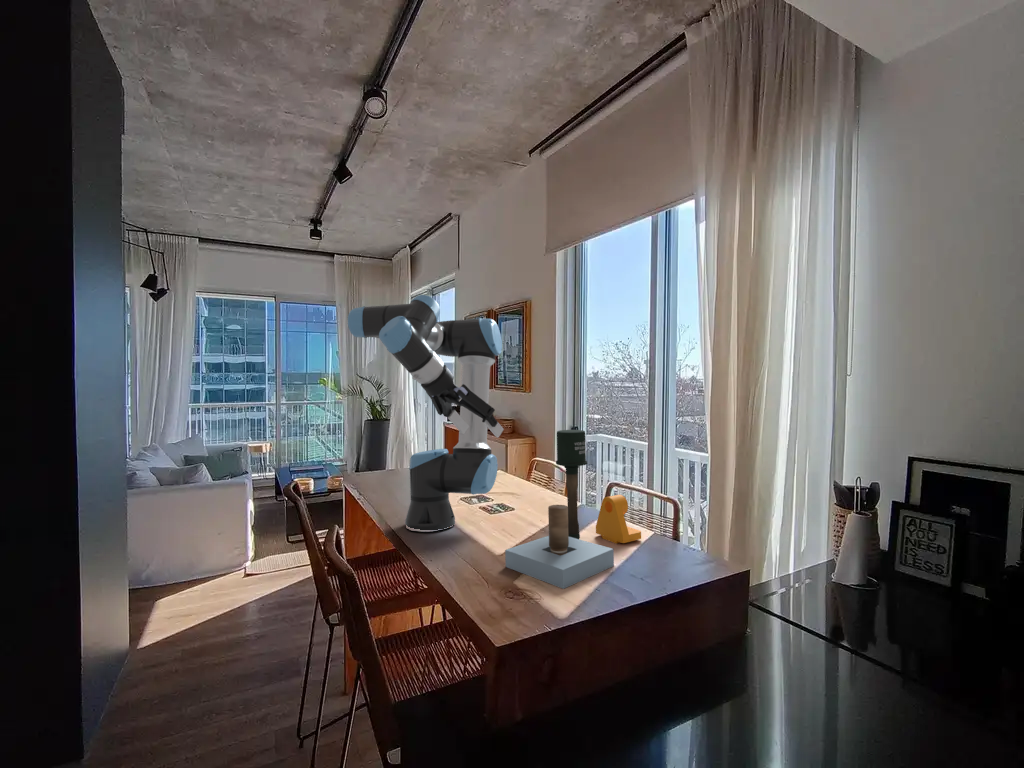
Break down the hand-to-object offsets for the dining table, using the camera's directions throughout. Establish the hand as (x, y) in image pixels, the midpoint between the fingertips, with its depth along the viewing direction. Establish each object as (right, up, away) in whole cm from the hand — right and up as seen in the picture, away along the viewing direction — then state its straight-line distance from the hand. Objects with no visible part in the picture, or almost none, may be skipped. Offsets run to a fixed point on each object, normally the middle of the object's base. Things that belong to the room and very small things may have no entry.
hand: (482, 431), depth 127 cm
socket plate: (+19, -31, -11) cm, 38 cm away
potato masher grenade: (+24, -31, +8) cm, 40 cm away
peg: (+19, -31, -11) cm, 38 cm away
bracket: (+37, -31, +9) cm, 49 cm away
